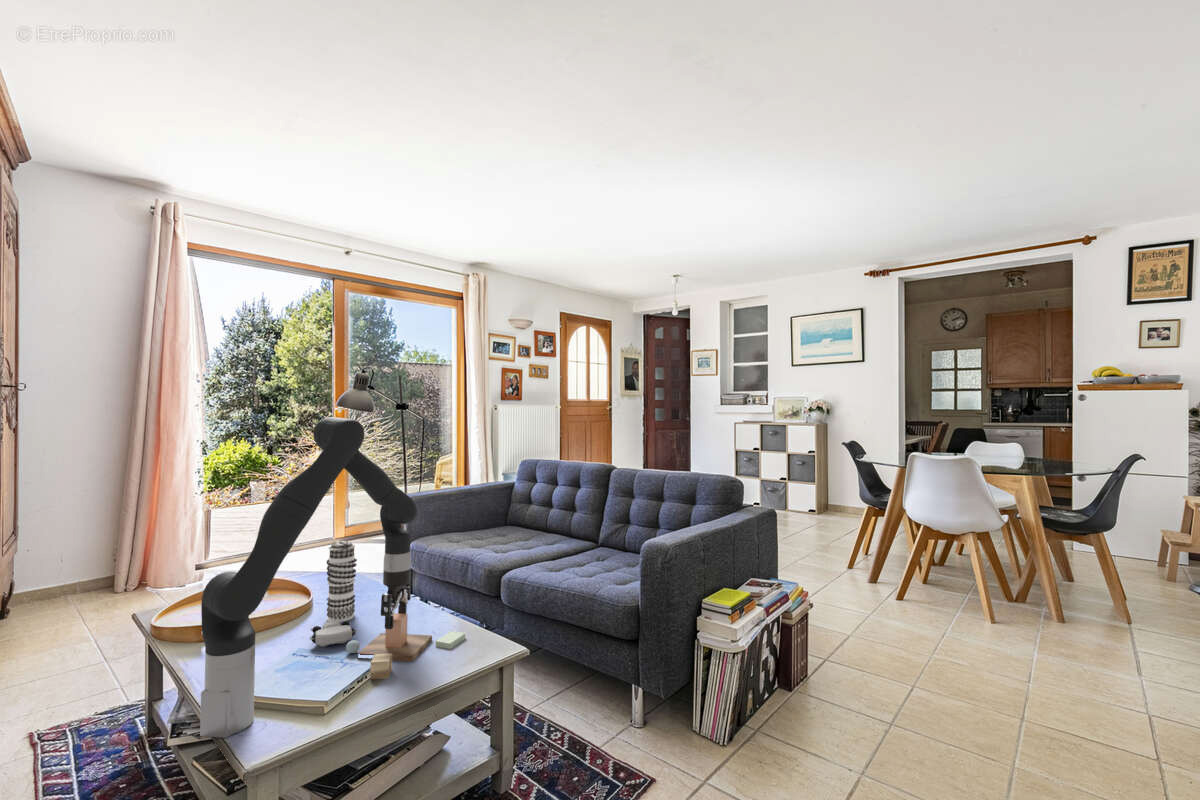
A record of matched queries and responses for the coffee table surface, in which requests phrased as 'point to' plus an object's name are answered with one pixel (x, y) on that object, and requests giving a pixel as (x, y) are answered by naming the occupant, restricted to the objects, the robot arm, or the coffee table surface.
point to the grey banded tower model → (341, 581)
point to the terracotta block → (397, 632)
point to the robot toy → (332, 633)
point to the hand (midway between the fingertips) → (395, 623)
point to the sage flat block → (450, 640)
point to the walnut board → (404, 653)
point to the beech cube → (381, 666)
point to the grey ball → (352, 646)
